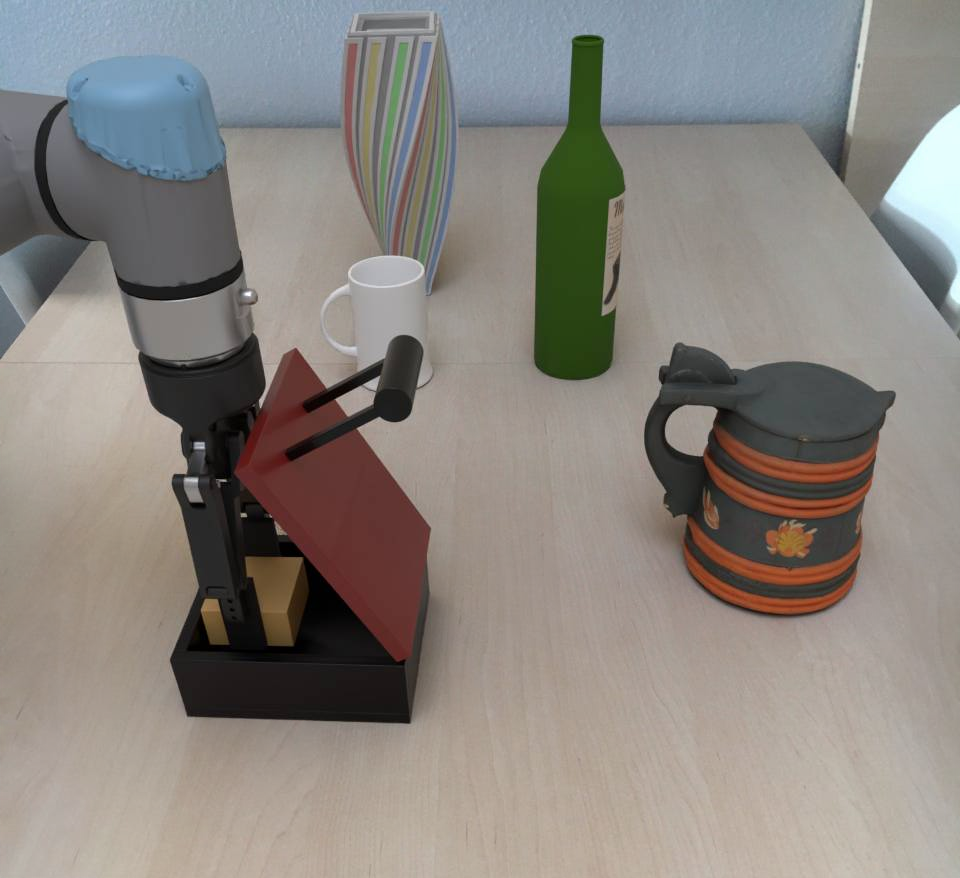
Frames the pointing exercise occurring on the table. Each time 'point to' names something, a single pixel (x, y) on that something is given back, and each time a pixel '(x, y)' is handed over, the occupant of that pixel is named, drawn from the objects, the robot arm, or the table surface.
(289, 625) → the block
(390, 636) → the lid
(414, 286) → the mug
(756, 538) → the beer stein
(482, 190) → the table surface
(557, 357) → the wine bottle
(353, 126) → the vase
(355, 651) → the black storage box
